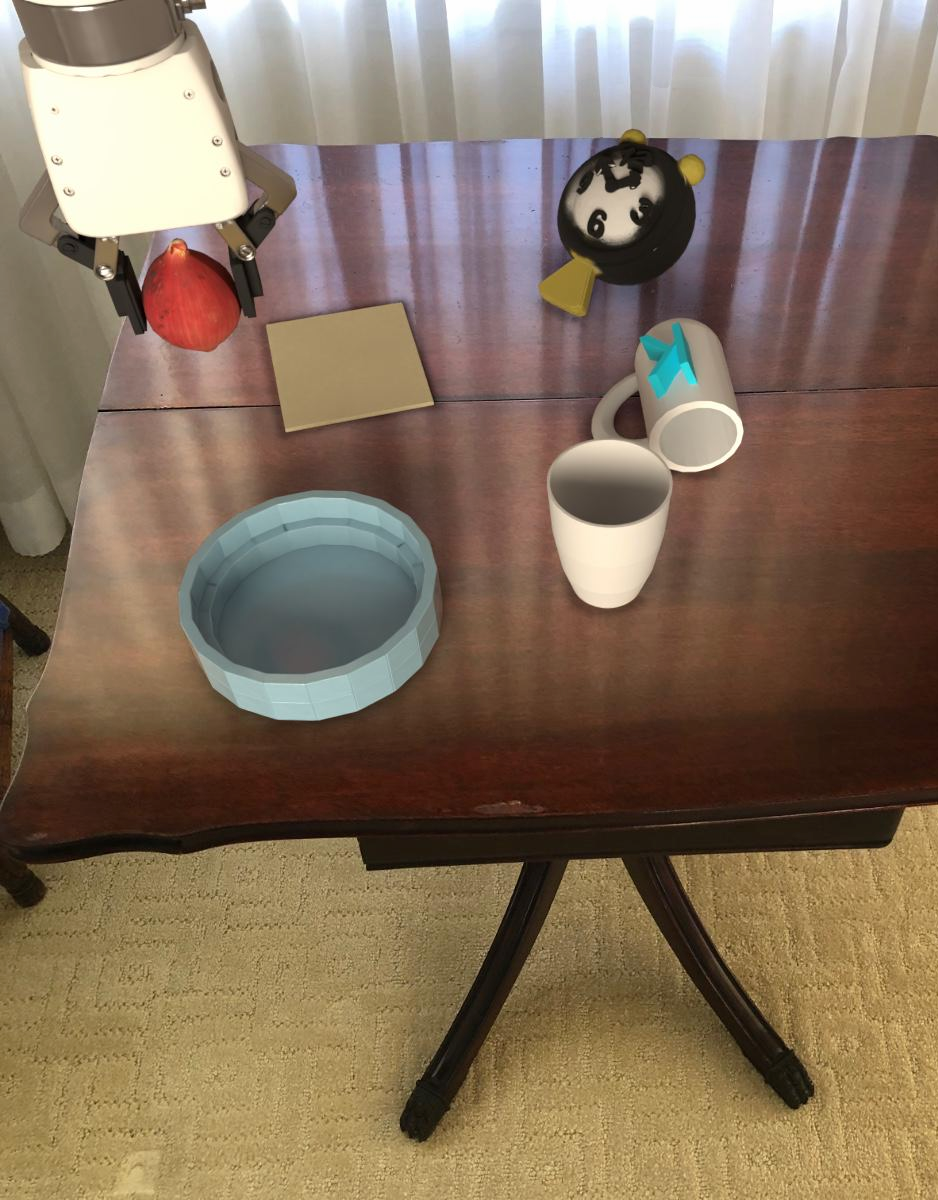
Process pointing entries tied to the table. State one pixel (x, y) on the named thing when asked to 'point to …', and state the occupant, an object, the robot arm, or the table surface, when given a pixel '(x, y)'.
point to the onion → (190, 299)
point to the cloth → (346, 366)
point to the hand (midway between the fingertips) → (195, 310)
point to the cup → (608, 516)
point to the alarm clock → (623, 219)
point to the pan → (312, 604)
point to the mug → (679, 397)
